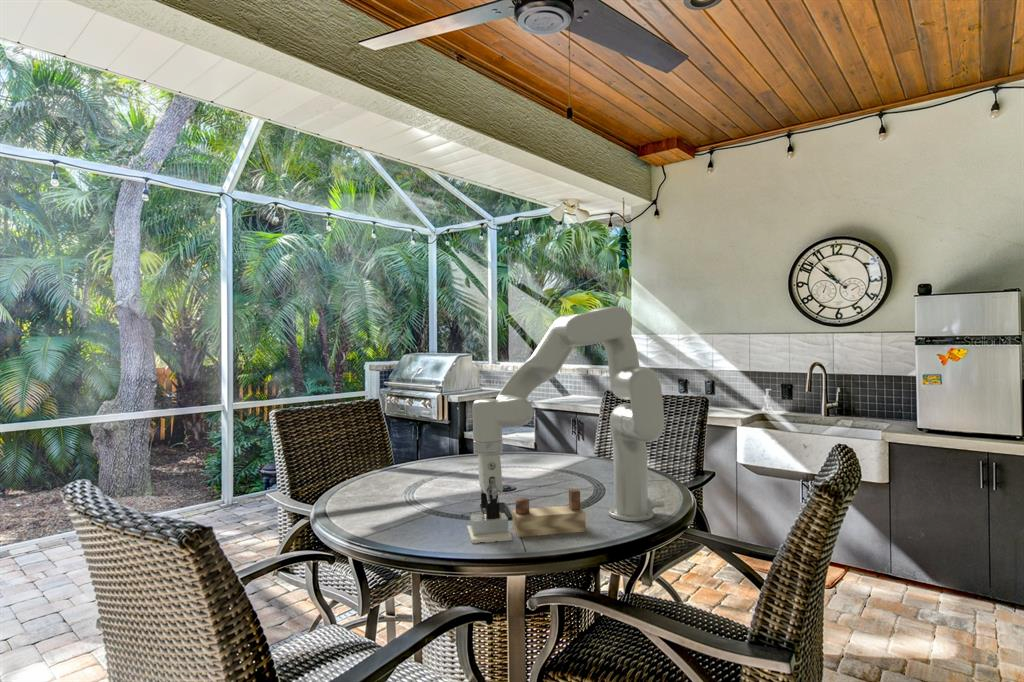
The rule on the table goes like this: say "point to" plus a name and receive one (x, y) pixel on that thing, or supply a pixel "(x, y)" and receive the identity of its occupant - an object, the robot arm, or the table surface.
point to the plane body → (549, 517)
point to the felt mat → (489, 537)
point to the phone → (502, 507)
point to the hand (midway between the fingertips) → (490, 512)
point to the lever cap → (488, 524)
